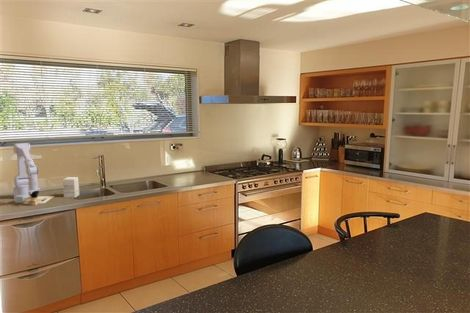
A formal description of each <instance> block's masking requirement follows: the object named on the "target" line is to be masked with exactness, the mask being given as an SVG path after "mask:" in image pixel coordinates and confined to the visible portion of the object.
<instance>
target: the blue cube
mask: <svg viewBox="0 0 470 313" xmlns="http://www.w3.org/2000/svg"><path fill="white" fill-rule="evenodd" d="M26 201H27V199H26V198H25V195H17V196H16V197H15V199H14V203H15V204H16V203H20V204H21V203H22V204H23V203H25V202H26Z"/></svg>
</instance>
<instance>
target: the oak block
mask: <svg viewBox="0 0 470 313" xmlns="http://www.w3.org/2000/svg"><path fill="white" fill-rule="evenodd" d="M25 202H26V203H27V204H26V206H37V205H38V204H40V203H39V200H38V198H32V197H28V198H27V199H26V201H25Z"/></svg>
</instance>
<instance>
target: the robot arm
mask: <svg viewBox="0 0 470 313" xmlns="http://www.w3.org/2000/svg"><path fill="white" fill-rule="evenodd" d="M12 147H13V153H14V154H16V159H17V171H18V172H17V175H15V176H14V178H13V179H14V180H13V184H14V187H13V189H12V190H13V199H14V200H15V197H16V196H17V195H25V199H29V198H37V197H39V193H40V190H41V188H40V186H39V181H38V179H39V178H38V175H39V168H38V166H37V165H36V164H35V162H34V159H33V158H31V154H30V151H31V144H30V143H29V142H21V143H19V142H17V143H14V144H13V146H12Z"/></svg>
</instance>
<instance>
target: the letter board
mask: <svg viewBox="0 0 470 313" xmlns="http://www.w3.org/2000/svg"><path fill="white" fill-rule="evenodd" d="M54 197H55V195H47V196H45V195H43V196H40V195H38V196H37V198H38V200H39V203H38V204H46V203H47V202H48V201H50V200H51V199H53V198H54ZM22 205H27V203H26V201H24V202H23V203H22Z"/></svg>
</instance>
